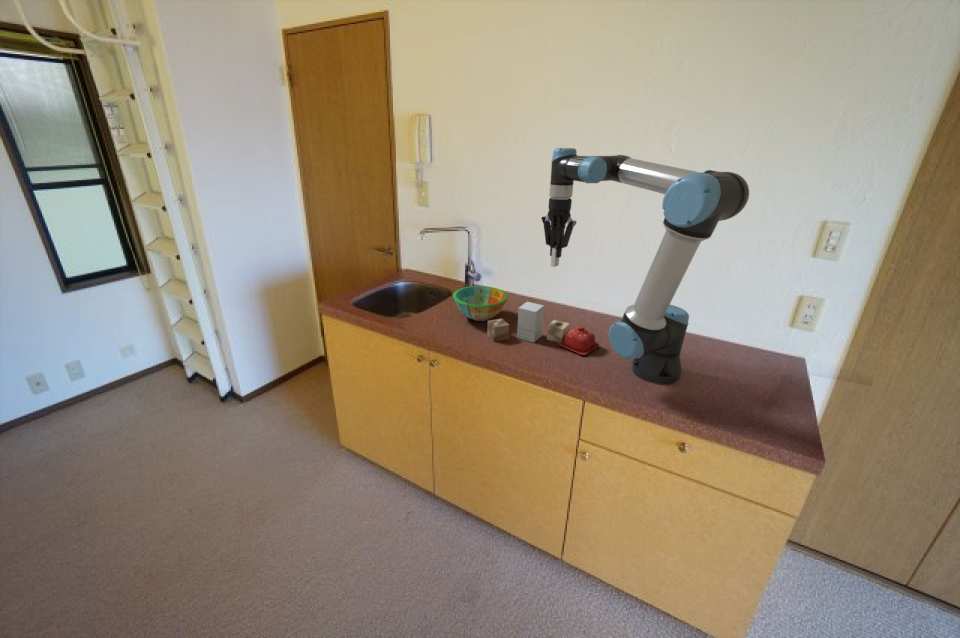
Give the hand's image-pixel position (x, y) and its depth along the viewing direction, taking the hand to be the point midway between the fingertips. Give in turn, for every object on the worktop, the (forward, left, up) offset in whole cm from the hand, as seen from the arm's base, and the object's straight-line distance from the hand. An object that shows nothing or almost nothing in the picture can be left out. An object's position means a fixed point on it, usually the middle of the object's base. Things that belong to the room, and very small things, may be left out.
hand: (554, 265), depth 150 cm
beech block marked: (-5, 0, -28) cm, 28 cm away
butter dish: (-14, -1, -28) cm, 31 cm away
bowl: (+28, +9, -28) cm, 41 cm away
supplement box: (+3, +7, -28) cm, 29 cm away
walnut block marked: (+11, +16, -28) cm, 34 cm away
